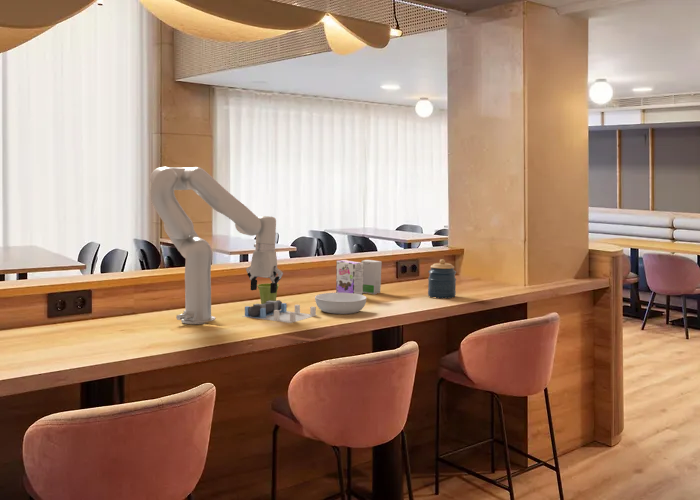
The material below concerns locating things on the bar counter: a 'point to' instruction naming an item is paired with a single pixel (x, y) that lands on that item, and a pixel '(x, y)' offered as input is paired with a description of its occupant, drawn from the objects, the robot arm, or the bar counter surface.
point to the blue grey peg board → (283, 314)
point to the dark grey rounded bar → (268, 305)
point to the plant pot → (266, 293)
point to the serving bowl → (340, 302)
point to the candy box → (349, 277)
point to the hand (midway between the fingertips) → (263, 291)
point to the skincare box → (371, 276)
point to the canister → (442, 280)
